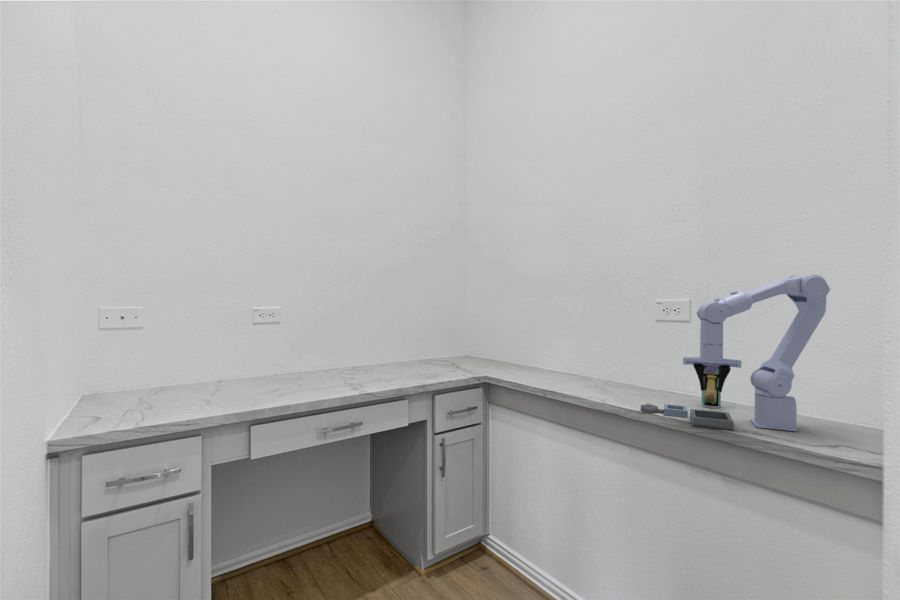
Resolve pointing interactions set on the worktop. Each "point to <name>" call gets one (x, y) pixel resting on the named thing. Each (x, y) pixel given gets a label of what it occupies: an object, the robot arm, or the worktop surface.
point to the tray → (711, 419)
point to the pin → (710, 387)
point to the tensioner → (666, 409)
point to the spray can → (718, 397)
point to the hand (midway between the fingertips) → (711, 390)
